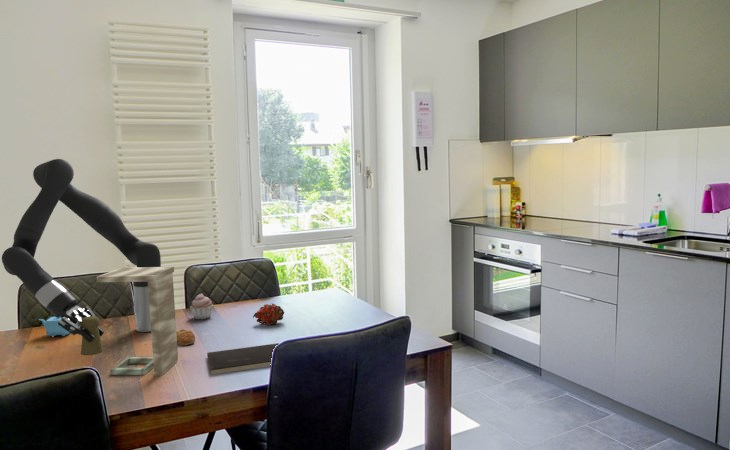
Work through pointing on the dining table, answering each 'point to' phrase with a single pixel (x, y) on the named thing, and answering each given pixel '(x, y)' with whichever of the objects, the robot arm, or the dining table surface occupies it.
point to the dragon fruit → (269, 314)
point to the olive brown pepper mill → (92, 326)
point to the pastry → (185, 337)
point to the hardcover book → (240, 358)
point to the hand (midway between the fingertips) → (97, 337)
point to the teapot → (54, 327)
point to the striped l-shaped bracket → (152, 318)
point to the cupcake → (201, 307)
